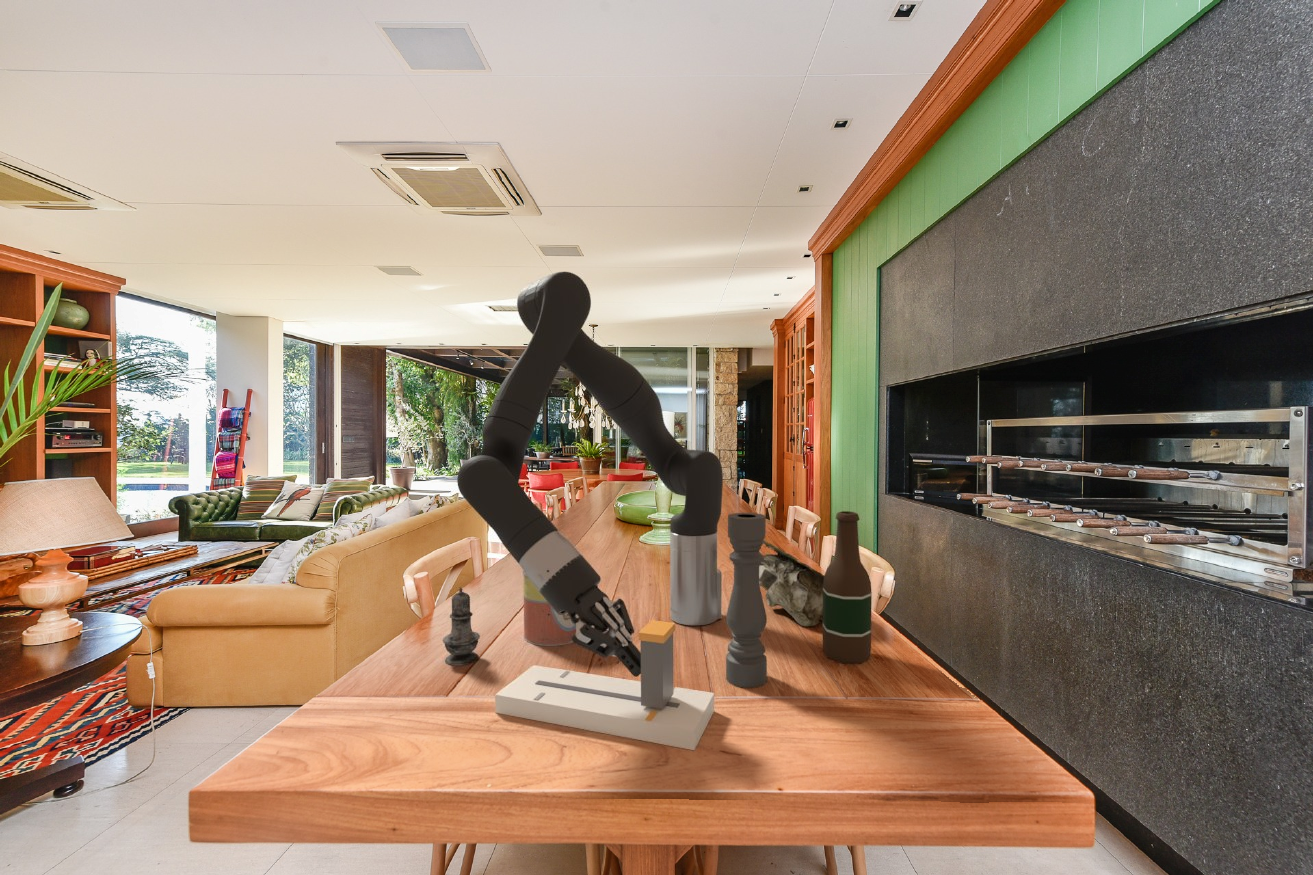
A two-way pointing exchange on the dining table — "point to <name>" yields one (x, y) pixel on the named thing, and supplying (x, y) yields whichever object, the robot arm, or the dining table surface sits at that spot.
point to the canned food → (544, 619)
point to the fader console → (606, 706)
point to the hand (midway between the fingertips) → (642, 670)
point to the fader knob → (656, 663)
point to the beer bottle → (847, 597)
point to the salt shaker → (461, 632)
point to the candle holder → (746, 602)
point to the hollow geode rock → (792, 586)
